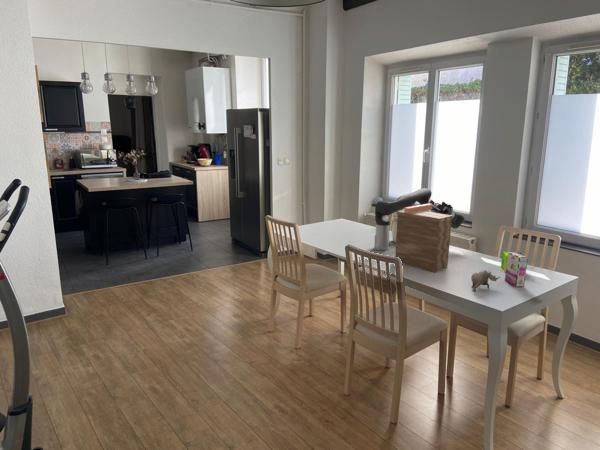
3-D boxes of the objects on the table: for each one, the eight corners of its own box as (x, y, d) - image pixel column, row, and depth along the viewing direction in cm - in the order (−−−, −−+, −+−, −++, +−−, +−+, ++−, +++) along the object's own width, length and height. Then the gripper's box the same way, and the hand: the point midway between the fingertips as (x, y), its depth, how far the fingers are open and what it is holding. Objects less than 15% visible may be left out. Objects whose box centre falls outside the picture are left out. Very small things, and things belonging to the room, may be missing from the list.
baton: (408, 213, 261) (408, 208, 260) (404, 212, 263) (404, 207, 262) (432, 208, 278) (432, 204, 277) (428, 208, 280) (428, 203, 280)
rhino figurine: (460, 283, 229) (476, 259, 229) (472, 294, 236) (488, 271, 236) (471, 289, 222) (488, 265, 223) (484, 300, 229) (500, 276, 230)
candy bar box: (524, 287, 232) (528, 257, 229) (515, 287, 232) (519, 257, 228) (512, 280, 243) (516, 251, 239) (504, 280, 242) (507, 251, 239)
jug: (388, 242, 322) (390, 209, 317) (392, 238, 336) (394, 206, 331) (410, 245, 317) (412, 210, 311) (413, 240, 331) (415, 207, 325)
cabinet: (435, 273, 254) (439, 218, 247) (393, 261, 275) (396, 211, 268) (448, 268, 263) (453, 215, 257) (407, 257, 285) (411, 208, 278)
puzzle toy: (523, 273, 255) (525, 257, 253) (504, 272, 257) (506, 255, 255) (518, 268, 265) (520, 252, 263) (500, 267, 267) (502, 251, 264)
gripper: (439, 205, 299) (428, 195, 288) (458, 208, 289) (448, 198, 278) (435, 215, 298) (424, 205, 287) (454, 218, 288) (444, 208, 277)
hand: (436, 202), depth 283 cm, fingers open, 8 cm apart
